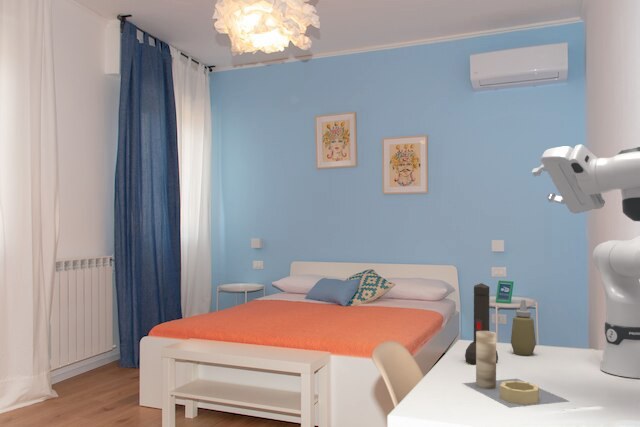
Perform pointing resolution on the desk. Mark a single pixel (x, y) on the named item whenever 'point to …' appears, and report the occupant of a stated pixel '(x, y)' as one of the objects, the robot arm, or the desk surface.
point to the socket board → (496, 394)
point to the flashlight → (479, 319)
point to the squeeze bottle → (523, 332)
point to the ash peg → (486, 359)
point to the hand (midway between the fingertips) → (541, 185)
